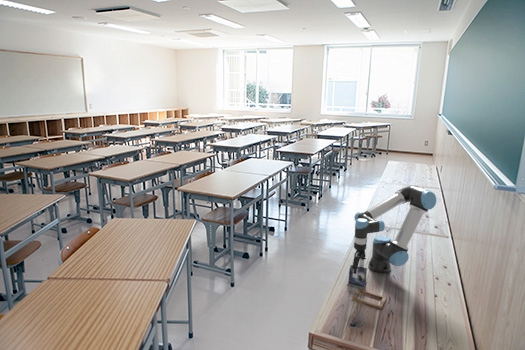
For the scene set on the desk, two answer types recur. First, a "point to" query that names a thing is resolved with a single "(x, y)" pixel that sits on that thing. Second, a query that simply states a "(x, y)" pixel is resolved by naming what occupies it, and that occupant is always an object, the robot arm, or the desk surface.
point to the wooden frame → (378, 307)
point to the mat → (356, 286)
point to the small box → (358, 276)
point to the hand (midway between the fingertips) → (358, 272)
